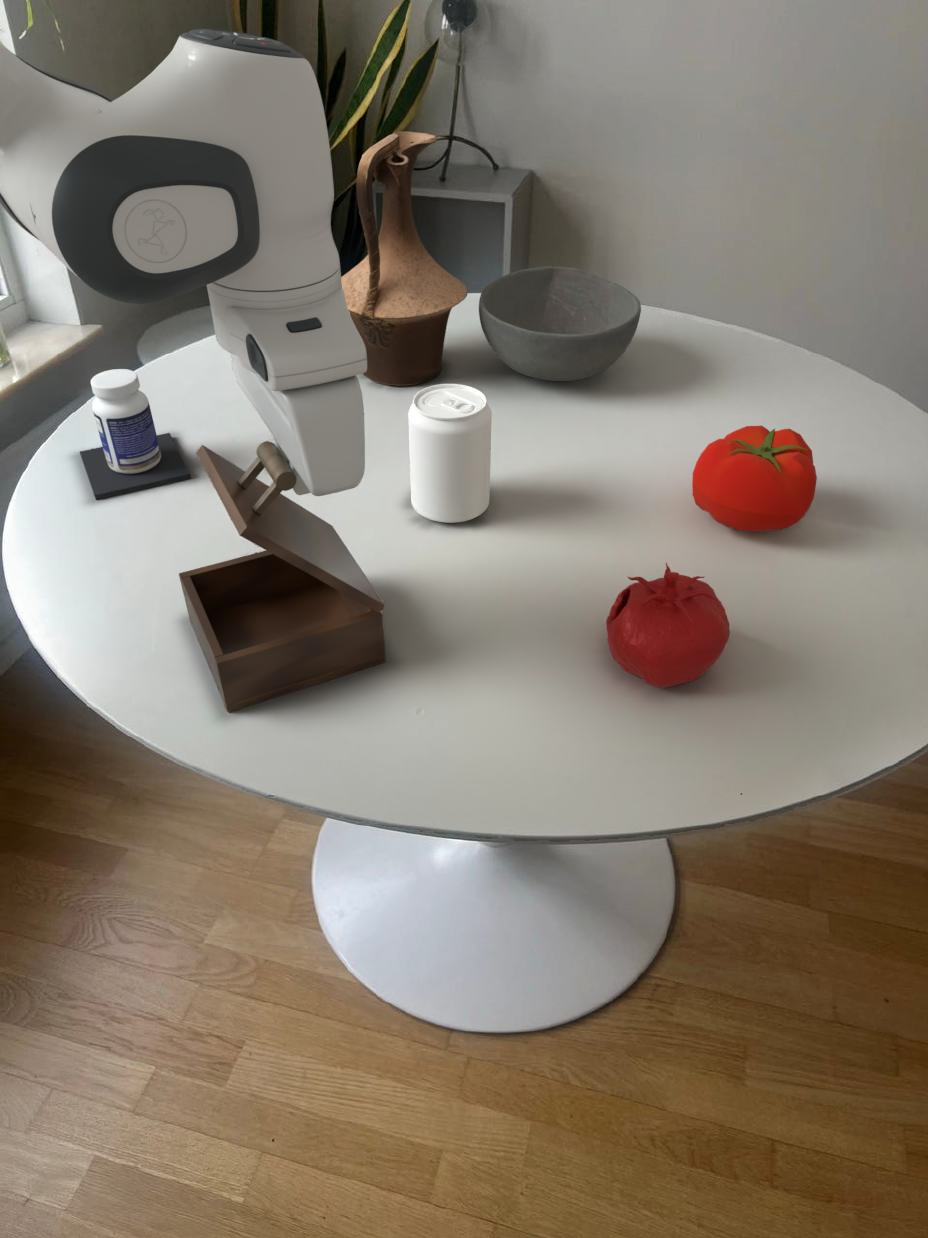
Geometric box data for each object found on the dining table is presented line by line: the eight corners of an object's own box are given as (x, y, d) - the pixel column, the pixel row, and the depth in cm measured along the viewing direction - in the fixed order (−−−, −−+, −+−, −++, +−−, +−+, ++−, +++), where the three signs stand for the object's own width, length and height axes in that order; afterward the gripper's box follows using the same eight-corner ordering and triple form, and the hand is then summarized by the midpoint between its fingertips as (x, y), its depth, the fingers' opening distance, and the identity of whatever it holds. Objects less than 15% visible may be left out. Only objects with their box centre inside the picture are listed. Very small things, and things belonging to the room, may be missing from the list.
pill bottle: (172, 454, 104) (153, 370, 97) (143, 479, 99) (121, 394, 93) (127, 445, 105) (106, 362, 99) (97, 470, 101) (72, 385, 94)
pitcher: (433, 410, 113) (429, 161, 95) (310, 386, 118) (283, 144, 100) (485, 353, 126) (490, 123, 107) (371, 333, 130) (358, 109, 112)
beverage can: (442, 477, 101) (441, 374, 94) (504, 501, 98) (508, 395, 90) (395, 510, 96) (390, 404, 89) (458, 536, 93) (459, 428, 85)
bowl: (452, 389, 117) (452, 311, 111) (509, 329, 132) (512, 257, 125) (607, 419, 111) (616, 339, 105) (649, 353, 126) (659, 279, 119)
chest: (227, 712, 74) (216, 663, 71) (189, 620, 83) (178, 573, 79) (386, 662, 79) (382, 614, 75) (334, 580, 87) (329, 533, 84)
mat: (95, 500, 97) (94, 495, 97) (80, 456, 104) (79, 451, 104) (191, 478, 101) (190, 473, 100) (170, 437, 108) (169, 432, 107)
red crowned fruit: (745, 670, 78) (769, 583, 72) (655, 717, 74) (673, 628, 68) (664, 607, 84) (681, 522, 78) (577, 646, 80) (588, 559, 74)
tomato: (737, 564, 90) (756, 488, 84) (663, 499, 98) (675, 427, 93) (839, 532, 94) (863, 458, 88) (759, 473, 102) (777, 402, 97)
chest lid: (239, 535, 65) (283, 481, 64) (195, 452, 73) (234, 404, 73) (379, 613, 75) (419, 568, 74) (326, 532, 84) (361, 491, 83)
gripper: (194, 267, 69) (225, 433, 78) (278, 379, 55) (303, 565, 64) (276, 254, 71) (297, 417, 80) (377, 359, 57) (388, 542, 66)
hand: (300, 484), depth 72 cm, fingers closed
